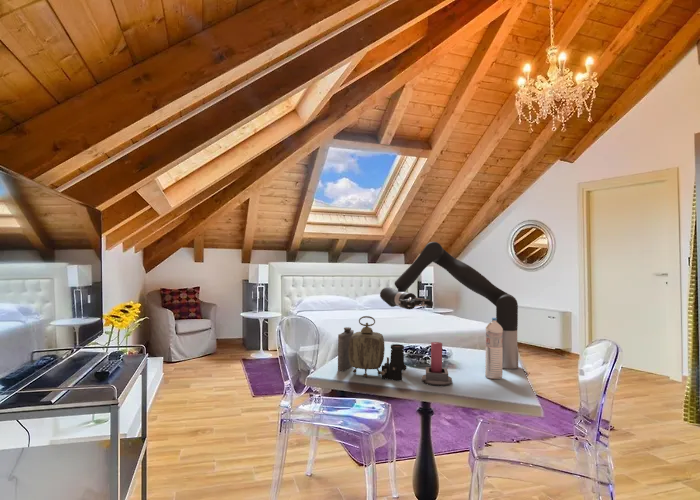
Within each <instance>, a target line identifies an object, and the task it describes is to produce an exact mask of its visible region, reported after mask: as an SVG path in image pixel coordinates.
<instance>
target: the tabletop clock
mask: <svg viewBox="0 0 700 500" xmlns="http://www.w3.org/2000/svg"><path fill="white" fill-rule="evenodd" d="M364 318H365V319H366V318H367V319H371V320H373V323H371V324H369V323H368V322H366V323H365V324H364V323H362V322H361V320H362V319H364ZM358 323H359V325H360V326H362V328H361V329H360V331H357V332H354V334H353V335H352V336H351V338H350V341H349V350H348V353H349V362H350V365H351V366H352V367H351V368H354V369H352V372H353V374H356V373H357V369H359V370H364V373H363V377H364V378H368V373H367V370H376V371H377V375H378V376H379V375H381V374H380V372H381V371H382V370H380V368H382V365H383V362H384V359H385V358H384V357H385V339H384V335H383V334H382V333H379V332H376V331H373V329H372V328H371V327H373V326H374V325H375V324H376V320H375V318H374V317H372V316H369V315H365V316H360V318H359V319H358Z"/></svg>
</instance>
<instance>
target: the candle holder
mask: <svg viewBox="0 0 700 500" xmlns="http://www.w3.org/2000/svg"><path fill="white" fill-rule="evenodd" d="M452 378H453V377H451V376H449V370H448V368H447V367H442V373H437V372H431V366H429V367H428V366H425V374H423V375H421V382H422V383H423V384H425V385H427V384H428V386H431V387H432V386H433V387H447V386H450V385H452V384H453V382H452V381H453V379H452Z"/></svg>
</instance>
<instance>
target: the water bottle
mask: <svg viewBox="0 0 700 500" xmlns="http://www.w3.org/2000/svg"><path fill="white" fill-rule="evenodd" d="M491 320H492V321H490V322H489V323H488V324H487V325H486V326H485V359H484V360H485V363H484V364H485V366H484V367H485V371H484V372H485V377H486V378H487V379H489V380H502V379H503V369H504V368H503V367H502V366H503V365H502V364H503V363H502V362H503V361H502V360H503V347H502V335H503V328H502V326H501V325H500V324H499V323H498V322H496V321H497V318H496V317H492V318H491Z"/></svg>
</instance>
